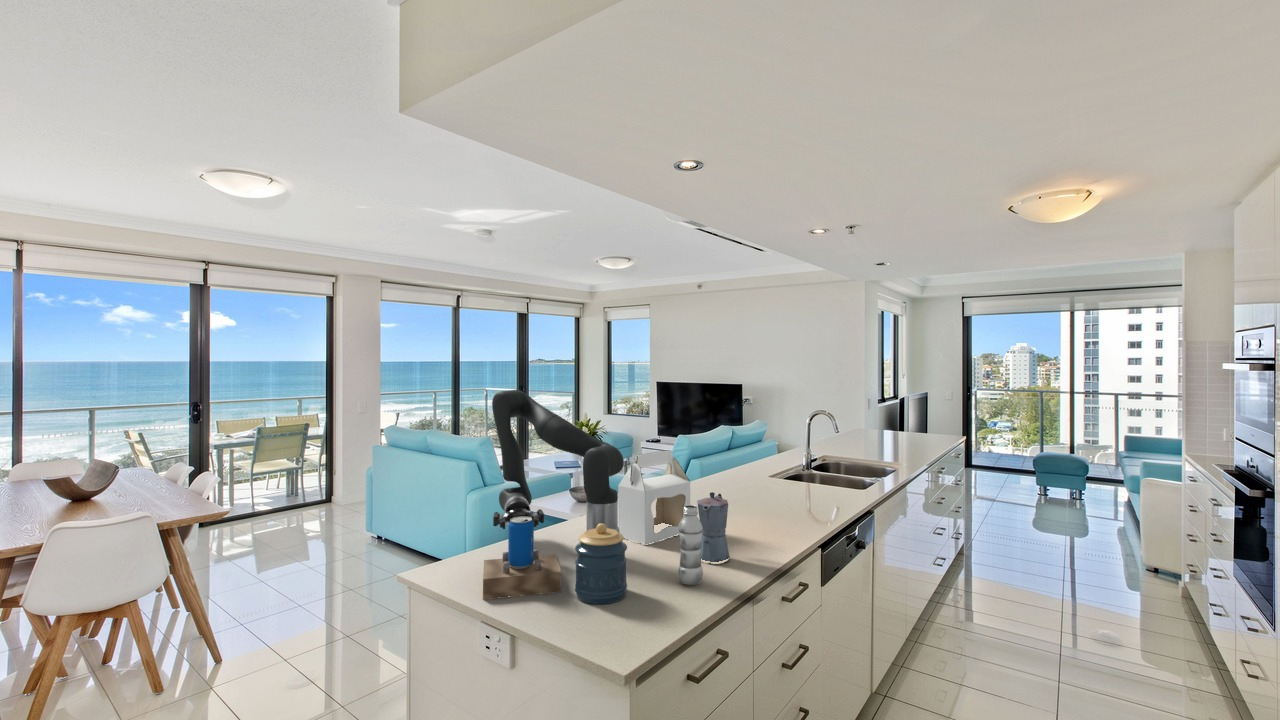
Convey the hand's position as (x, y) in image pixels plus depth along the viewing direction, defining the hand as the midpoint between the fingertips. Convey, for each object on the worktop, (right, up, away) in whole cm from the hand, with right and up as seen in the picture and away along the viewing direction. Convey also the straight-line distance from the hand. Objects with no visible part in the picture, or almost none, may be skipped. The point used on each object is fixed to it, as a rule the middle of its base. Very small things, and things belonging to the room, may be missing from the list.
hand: (519, 524), depth 155 cm
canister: (+24, -13, -16) cm, 31 cm away
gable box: (+38, -14, +35) cm, 54 cm away
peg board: (+3, -13, -10) cm, 16 cm away
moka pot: (+55, -14, +10) cm, 58 cm away
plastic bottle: (+47, -13, -9) cm, 49 cm away
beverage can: (+2, -8, -10) cm, 13 cm away
